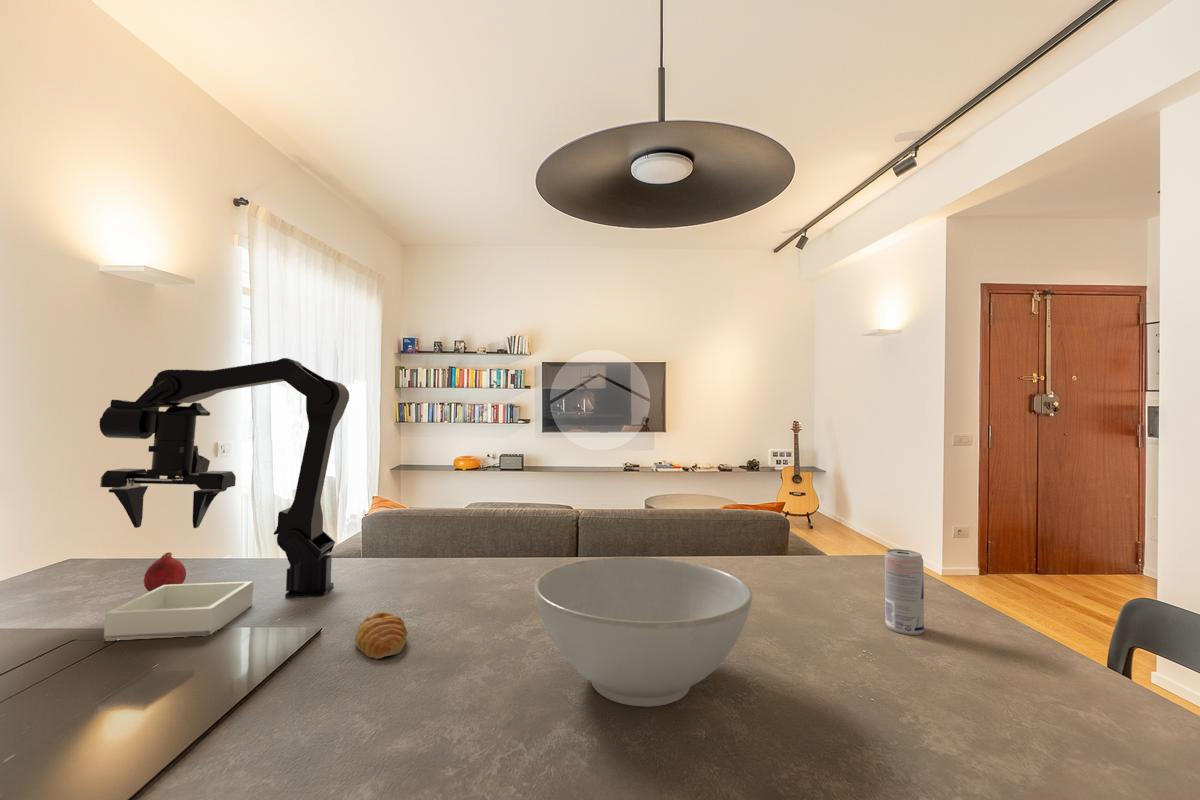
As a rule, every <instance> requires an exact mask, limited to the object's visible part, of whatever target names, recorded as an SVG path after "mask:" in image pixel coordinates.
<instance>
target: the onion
mask: <svg viewBox="0 0 1200 800" xmlns="http://www.w3.org/2000/svg"><path fill="white" fill-rule="evenodd" d="M172 555H173V553H172V552H170V551H167V552H165V553H163V554H162V555H161V557H160V558H158V559H157V560H155V561H154V562H152V564H151V565H150V566H149V567H148V568H147V569H146V571H145V573H144V577H143V584H144V587H145V589H146V591H147V592H150V591H152V590H154V589H156V588H158V587H160V586H162V585H170V584H184V582H185V580H186V579H187V578H186V577H187V570H186V567H185V566H184V564H183V563H182V562H181V561H180V560H178V559H176V558H174V557H172Z"/></svg>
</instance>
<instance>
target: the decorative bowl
mask: <svg viewBox="0 0 1200 800" xmlns="http://www.w3.org/2000/svg"><path fill="white" fill-rule="evenodd" d="M533 590H534V598H535V602H536V605H537V610H538V612H539V615H540V619H541V620H542V623H543V626H544V628H545V630H546V632H547V634H548V637H549V638H550V640H551V641H552V643H553V645H554V646H555V648H556V649H557V651H558V653H559V654H560V655H561V656H562V658H564V660H565V661H566V662H567V663H568V664H569V666H571V667H572V668H573V669H574V670H575V671H576V672H578V674H580V675H581V676H583V677H584V678H585V679H587V681H588V680H589V681H590V682H591V684H592V685H591V686H592V687H593V689H594V690H595V691H596V692H597V694H599V695H601V696H602V697H604V698H606V699H608V700H610V701H613V702H615V703H619V704H622V705H627V706H630V707H631V706H632V707H644V708H645V707H658V706H659V707H660V706H665V705H669V704H671V703H675V702H677V701H679V700H682V699H683V698H684V697H685V696H687V694H688V693H689V691H690V689H691V688H692V687H693V686H694V685H697V684H698V683H700V682H701V681H704V680H705V679H706V678H708V677H709V676H710V675H712V673H713V672H715V671H716V670H717V669H718V668H719V666H721V664H722V663H723V662H724V661H725V660H726V658H728V656H729V655H730V653H731V652H732V651H733V649H734V647H735V645H736V644H737V643H738V640H739V639H740V636H741V635H742V633H743V630H744V628H745V626H746V623H747V620H748V619H749V618H748V617H749V615H750V611H751V608H752V603H753V593H752V590H751V588H750V586H749V585H748V584H747V583H746V582H745V581H743V580H742V579H741V578H740V577H737V576H735V575H734V574H732V573H729V572H727V571H724V570H722V569H718V568H715V567H713V566H709V565H706V564H701V563H697V562H691V561H686V560H679V559H672V558H663V557H649V556H611V557H609V556H608V557H598V558H590V559H584V560H578V561H573V562H569V563H565V564H561V565H559V566H556V567H554V568H551V569H549V570H547V571H545V572H544V573H543V574H541V575H539V576H538V578H537V580H535V582H534V586H533Z"/></svg>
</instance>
